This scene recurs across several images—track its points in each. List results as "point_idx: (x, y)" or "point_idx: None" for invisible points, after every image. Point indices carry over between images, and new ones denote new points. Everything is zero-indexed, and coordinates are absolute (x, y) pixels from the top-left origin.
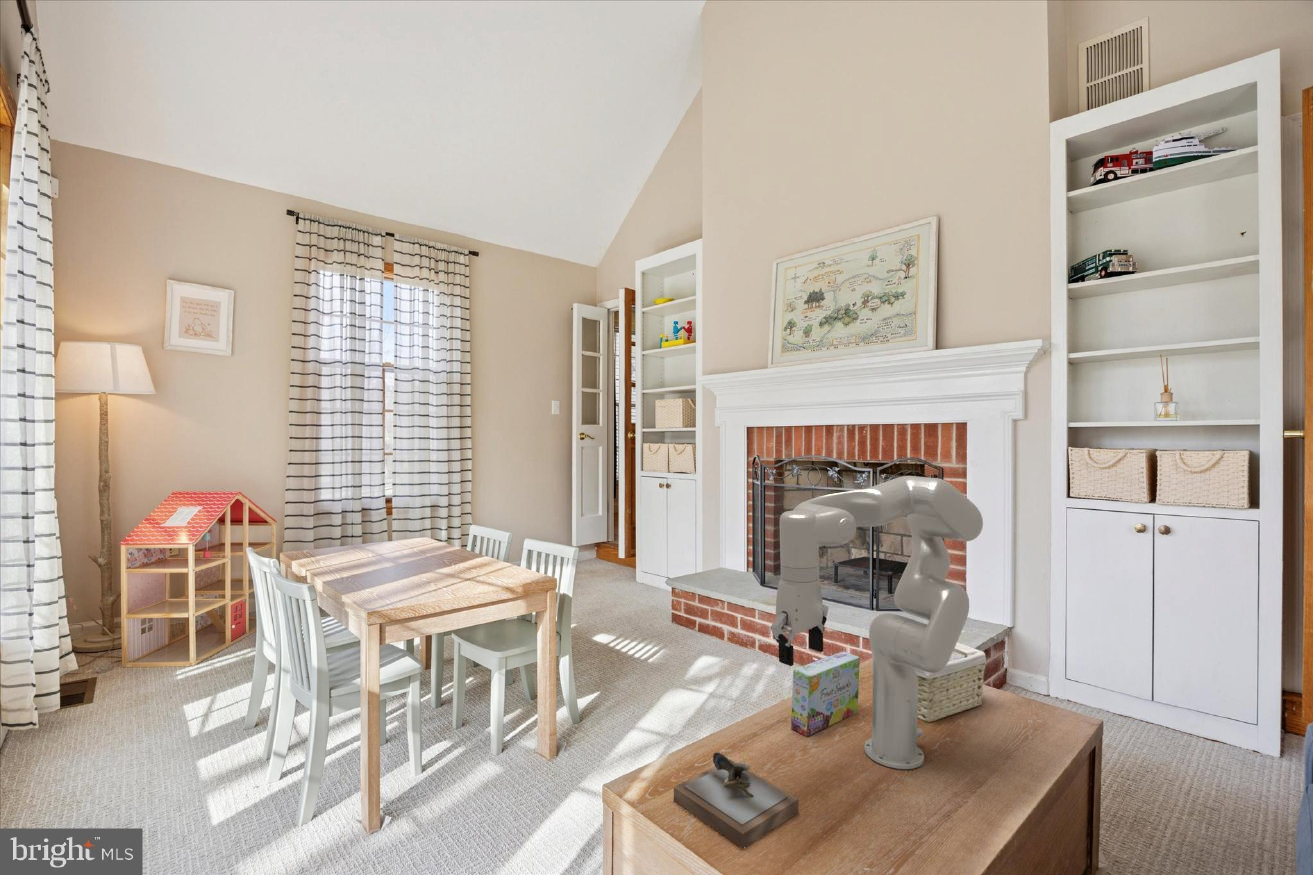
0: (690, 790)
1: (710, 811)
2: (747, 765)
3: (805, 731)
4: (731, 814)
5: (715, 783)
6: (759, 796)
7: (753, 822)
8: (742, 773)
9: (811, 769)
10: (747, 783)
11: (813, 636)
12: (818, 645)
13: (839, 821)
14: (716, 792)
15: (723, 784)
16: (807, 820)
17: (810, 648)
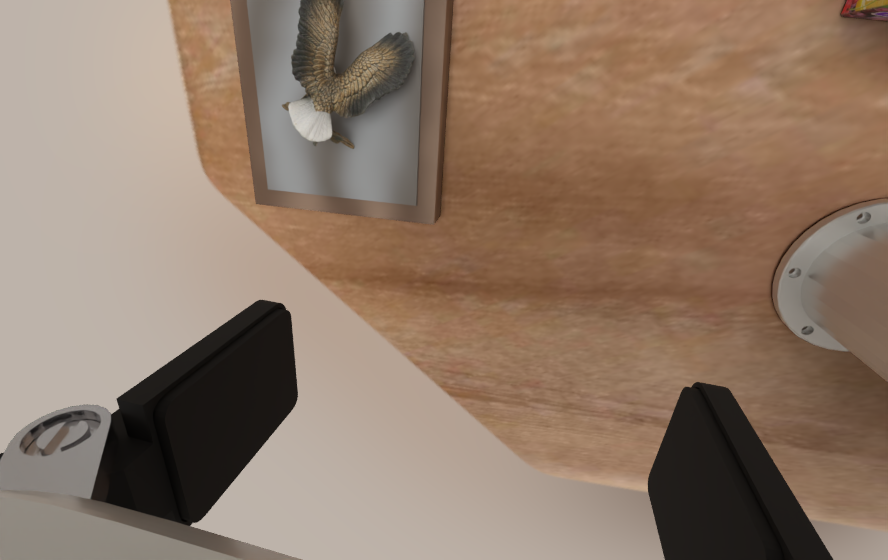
0: (248, 5)
1: (244, 105)
2: (368, 99)
3: (854, 5)
4: (270, 152)
5: None
6: (366, 157)
7: (296, 198)
8: None
9: (631, 144)
10: (331, 138)
11: (714, 550)
12: (664, 515)
13: (476, 287)
14: None
15: None
16: (432, 241)
17: (679, 398)
